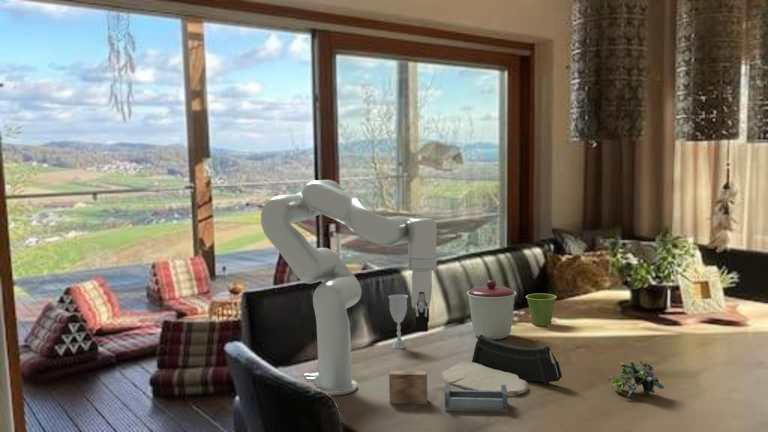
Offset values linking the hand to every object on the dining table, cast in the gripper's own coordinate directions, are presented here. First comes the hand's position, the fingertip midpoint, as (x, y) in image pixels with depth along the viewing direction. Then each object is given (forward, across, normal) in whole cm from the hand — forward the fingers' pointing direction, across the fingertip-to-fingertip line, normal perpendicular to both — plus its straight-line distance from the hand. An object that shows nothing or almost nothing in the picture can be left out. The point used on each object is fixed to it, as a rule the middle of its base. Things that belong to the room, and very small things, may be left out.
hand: (422, 326), depth 178 cm
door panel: (+20, +2, -4) cm, 21 cm away
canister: (+20, -67, +23) cm, 73 cm away
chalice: (+21, -52, -10) cm, 57 cm away
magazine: (+20, -20, +27) cm, 39 cm away
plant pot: (+20, -85, +44) cm, 98 cm away
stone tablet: (+21, -15, +17) cm, 30 cm away
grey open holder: (+20, +5, +14) cm, 25 cm away
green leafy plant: (+20, -5, +57) cm, 61 cm away
